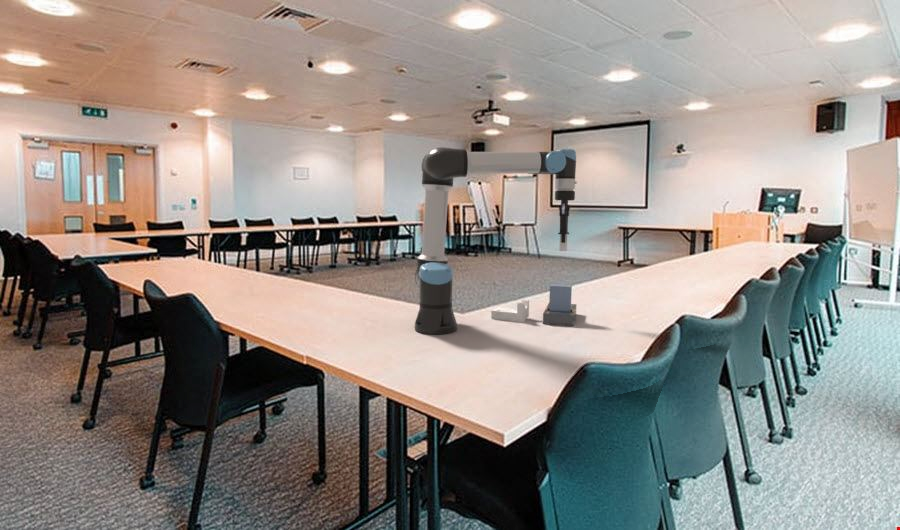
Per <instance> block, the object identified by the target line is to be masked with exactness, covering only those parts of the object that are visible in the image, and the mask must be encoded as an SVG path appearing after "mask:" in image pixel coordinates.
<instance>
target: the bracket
mask: <svg viewBox="0 0 900 530" xmlns="http://www.w3.org/2000/svg"><path fill="white" fill-rule="evenodd" d="M516 304H517V305H516V307H517V308H508V307H498V306H497V307H496V308H494V309H492V310H491V312H490V313H491V317H490V318H491V320H501V321H509V322H519V323H524V322H526V321H527V319H528V318H529V317H530V316H529V315H530V300H529V299H521V302H517V303H516Z"/></svg>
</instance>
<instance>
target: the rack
mask: <svg viewBox="0 0 900 530" xmlns="http://www.w3.org/2000/svg"><path fill="white" fill-rule="evenodd" d="M575 316H577V303H576V304H575V303H571V312H564V311H549V303H547V306H546V307H545V309H544V311H543V312H542V324H543V325H554V326H566V327H567V326H568V327H574V323H575V319H576V317H575Z"/></svg>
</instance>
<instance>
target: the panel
mask: <svg viewBox="0 0 900 530" xmlns="http://www.w3.org/2000/svg"><path fill="white" fill-rule="evenodd" d="M572 288H573V287H572V284H571V285H569V284H567V285H566V284H553V283H551V284H549V296H548V297H549V301H548V304H549V311H564V312H571V304H572V293H573V292H572Z"/></svg>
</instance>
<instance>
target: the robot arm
mask: <svg viewBox="0 0 900 530" xmlns="http://www.w3.org/2000/svg"><path fill="white" fill-rule="evenodd" d="M576 168H577V153H576V150H575V149H573V148H562V149H557V150H551V151H469V150H468V149H466V148H452V147H443V146H441V147H436V148H434V149H432V150H430V151H428V152H427V153H426V154H425V155H424V157H423V159H422V161H421V171H422V174H421V175H422V177H421V178H422V179H421V186H422V187H423V188H424V190H425V193H424V194H425V197H424V211H423V223H422V225H423V227H422V228H423V229H422V243H421V253H420V255H419V256H417V260H416V269H415V273H414V281H415V284H416V286H417V287H418V288H419V309H418V312H417V315H416V319H415V322H414V330H415V331H416V332H418V333H421V334H426V335H427V334H428V335H443V334H450V333H453V332H456V331H457V330H458V327H457V326H458V322H457V319H456V316H455V313H454V311H453V277H454V274H453V268H452V266H451V265H449V264H448V263H449V259H448V257H446V255H445V249H446V248H445V247H446V235H447V220H448V219H447V218H448V202H449V192H450V190H452V189H453V187H454V179H456V178H467V177H468V176H469V175H479V174H480V175H487V174H490V175H491V174H493V175H494V174H498V175H499V174H528V175H555V177H554V180H555V181H554V182H555V183H554V189H555V191H554V200H555V201H561V202H560V204H559V205H558V211H559V232H557V234H558V235H559V252H567V250H568V235H570V232H569V230H568V229H569V228H568V226H569V216H570V209H571V205H569V201H575V199H576V191H575V189H576V184H578V182H577V181H576V172H577V171H576V170H577V169H576Z"/></svg>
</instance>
